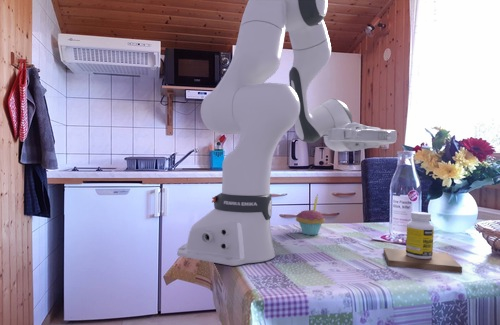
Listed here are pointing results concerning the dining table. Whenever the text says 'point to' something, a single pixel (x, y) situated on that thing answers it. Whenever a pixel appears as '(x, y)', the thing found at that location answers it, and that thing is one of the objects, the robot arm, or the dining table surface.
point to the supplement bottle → (420, 236)
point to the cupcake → (310, 220)
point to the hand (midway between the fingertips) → (374, 134)
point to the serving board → (422, 261)
